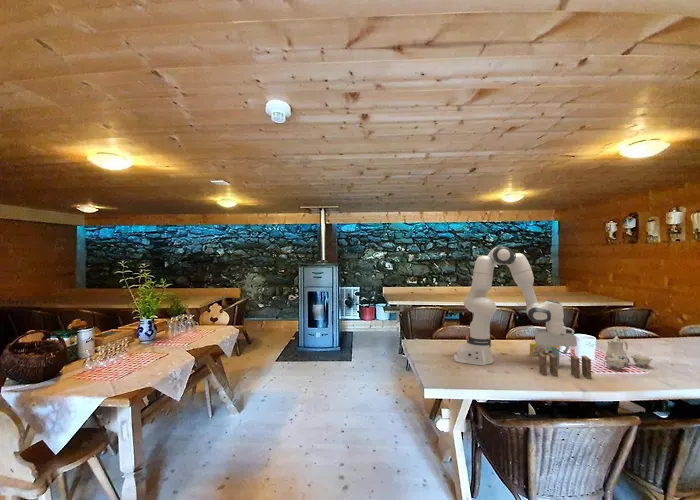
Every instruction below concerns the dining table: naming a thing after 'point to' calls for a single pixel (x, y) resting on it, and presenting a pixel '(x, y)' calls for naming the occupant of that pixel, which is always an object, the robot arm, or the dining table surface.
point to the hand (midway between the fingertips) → (555, 353)
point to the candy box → (539, 349)
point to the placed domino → (556, 353)
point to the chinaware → (622, 355)
